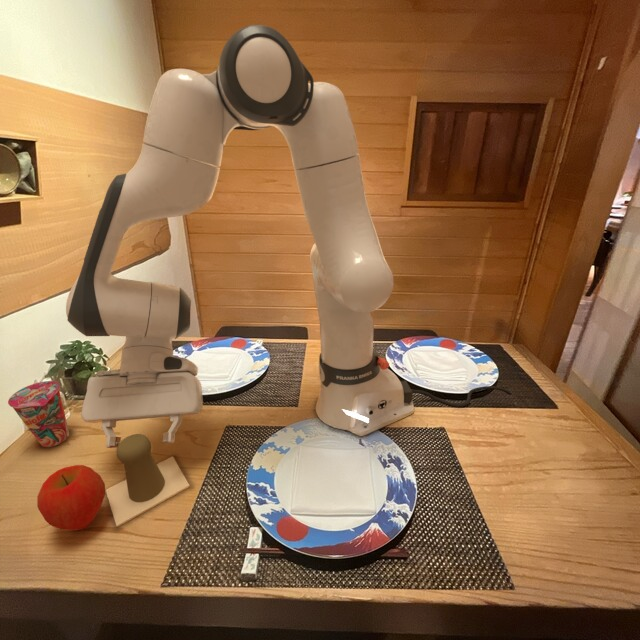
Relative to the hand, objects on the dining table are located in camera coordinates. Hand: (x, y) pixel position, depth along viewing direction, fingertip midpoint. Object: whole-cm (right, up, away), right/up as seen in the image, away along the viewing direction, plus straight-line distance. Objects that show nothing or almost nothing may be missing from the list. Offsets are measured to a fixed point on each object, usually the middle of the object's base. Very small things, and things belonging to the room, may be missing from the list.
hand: (140, 445), depth 62 cm
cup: (-25, -4, +15) cm, 29 cm away
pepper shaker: (0, -8, +2) cm, 9 cm away
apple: (-7, -12, -3) cm, 14 cm away
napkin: (0, -9, +2) cm, 9 cm away
